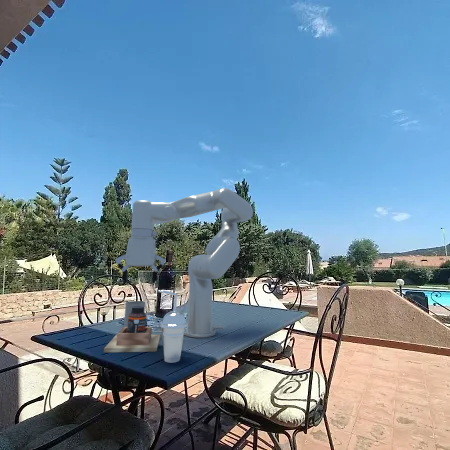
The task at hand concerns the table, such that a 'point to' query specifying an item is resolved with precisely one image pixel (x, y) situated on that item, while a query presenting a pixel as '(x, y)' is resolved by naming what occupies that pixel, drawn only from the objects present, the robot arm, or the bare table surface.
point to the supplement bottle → (137, 320)
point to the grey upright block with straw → (173, 332)
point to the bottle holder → (133, 341)
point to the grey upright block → (129, 309)
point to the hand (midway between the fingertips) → (139, 282)
